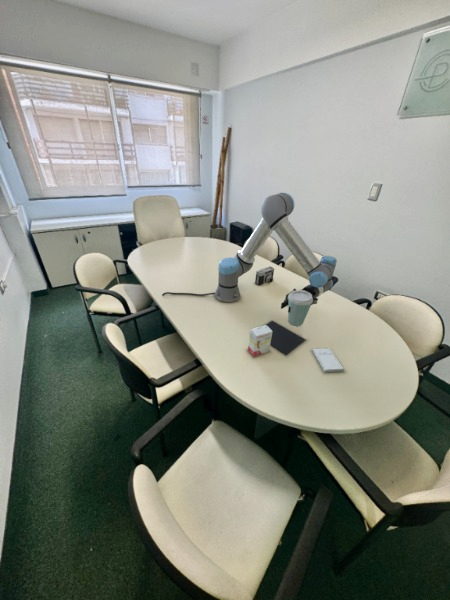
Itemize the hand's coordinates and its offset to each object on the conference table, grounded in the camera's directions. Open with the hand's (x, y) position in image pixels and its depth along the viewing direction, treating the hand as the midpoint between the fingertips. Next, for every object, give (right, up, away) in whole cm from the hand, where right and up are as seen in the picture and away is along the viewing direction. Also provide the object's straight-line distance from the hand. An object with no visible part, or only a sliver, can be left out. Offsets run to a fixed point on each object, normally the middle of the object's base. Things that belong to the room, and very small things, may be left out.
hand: (285, 307), depth 107 cm
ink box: (-12, -20, +2) cm, 23 cm away
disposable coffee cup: (+5, -7, +5) cm, 10 cm away
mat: (-1, -14, +10) cm, 18 cm away
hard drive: (+17, -23, -2) cm, 29 cm away
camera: (+1, +15, +59) cm, 61 cm away
